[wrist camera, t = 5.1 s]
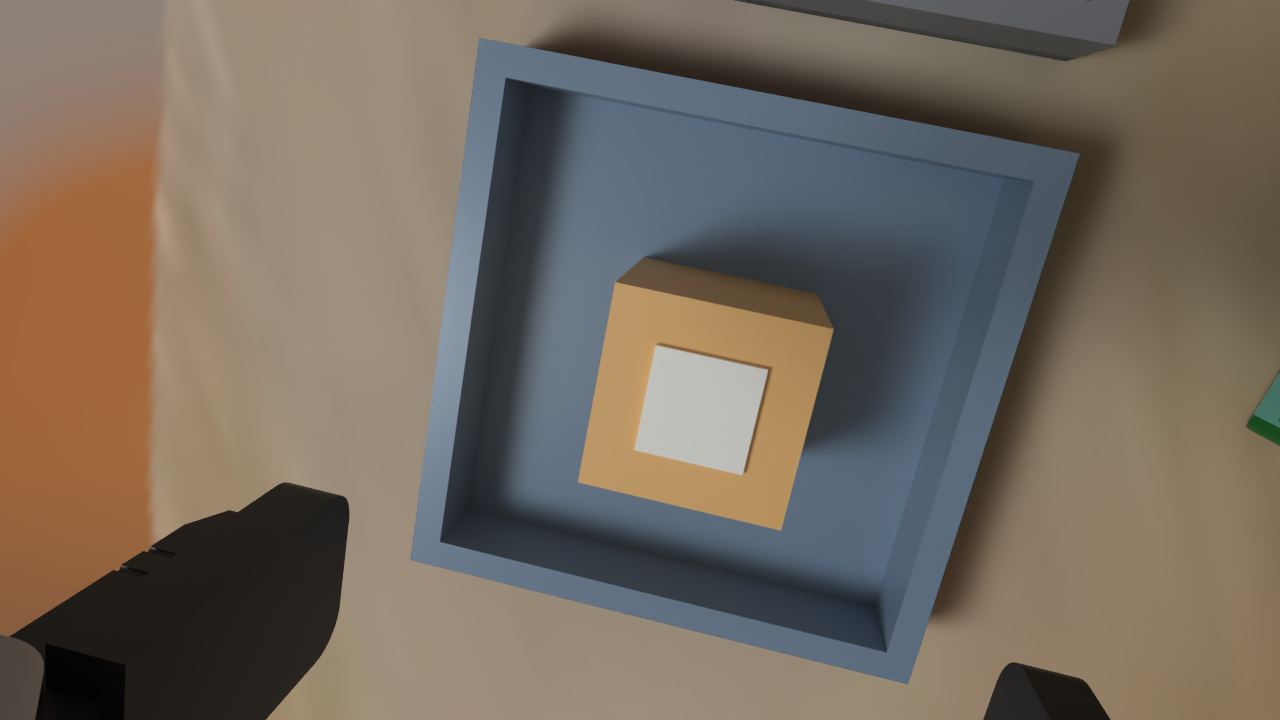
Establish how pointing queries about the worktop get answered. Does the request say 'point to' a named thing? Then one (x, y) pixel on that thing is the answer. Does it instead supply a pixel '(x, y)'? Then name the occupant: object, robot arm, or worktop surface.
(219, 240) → the worktop surface
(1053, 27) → the charcoal tray
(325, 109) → the worktop surface
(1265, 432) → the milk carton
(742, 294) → the orange cube
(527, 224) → the slate-blue tray
